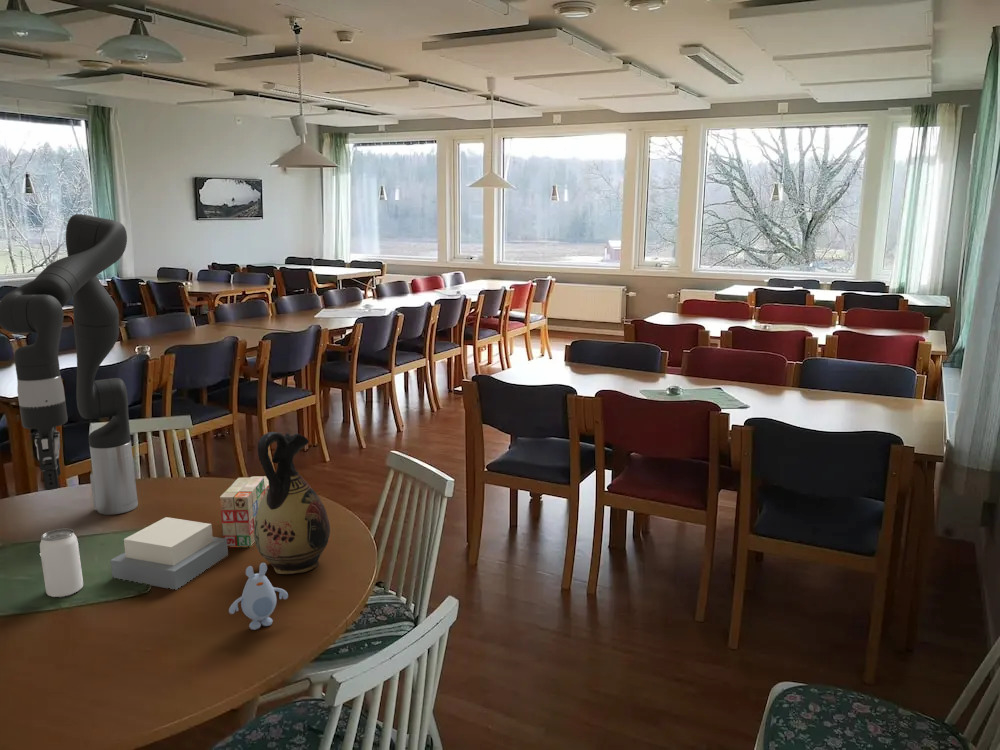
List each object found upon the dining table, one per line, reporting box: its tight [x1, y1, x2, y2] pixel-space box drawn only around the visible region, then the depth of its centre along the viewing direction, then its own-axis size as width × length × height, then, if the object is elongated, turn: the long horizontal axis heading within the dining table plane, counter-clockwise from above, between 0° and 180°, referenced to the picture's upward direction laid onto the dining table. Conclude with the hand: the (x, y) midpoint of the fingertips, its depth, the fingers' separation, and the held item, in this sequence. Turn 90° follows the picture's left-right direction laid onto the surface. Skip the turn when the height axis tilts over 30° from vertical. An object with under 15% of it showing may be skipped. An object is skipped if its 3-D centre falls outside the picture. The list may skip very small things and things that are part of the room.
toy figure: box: [228, 562, 289, 631], centre depth 138 cm, size 11×6×12 cm, turn 123°
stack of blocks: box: [219, 475, 269, 546], centre depth 181 cm, size 21×6×12 cm, turn 179°
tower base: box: [110, 516, 229, 591], centre depth 162 cm, size 16×16×8 cm
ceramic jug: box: [254, 431, 331, 575], centre depth 159 cm, size 17×15×30 cm
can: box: [39, 527, 84, 598], centre depth 151 cm, size 6×6×12 cm
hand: (53, 482), depth 148 cm, fingers open, 8 cm apart
